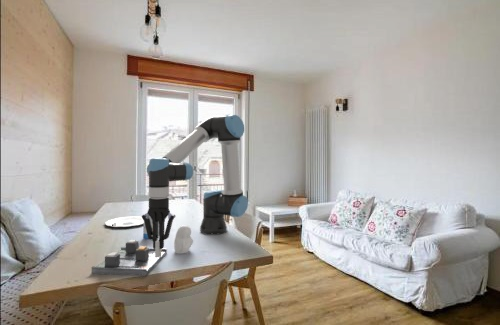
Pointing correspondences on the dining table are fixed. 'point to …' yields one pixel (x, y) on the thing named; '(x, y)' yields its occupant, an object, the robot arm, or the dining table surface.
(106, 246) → the dining table surface
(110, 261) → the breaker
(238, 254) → the dining table surface
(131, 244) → the block
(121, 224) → the plate
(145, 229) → the ink box
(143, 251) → the breaker
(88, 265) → the dining table surface
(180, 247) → the figurine
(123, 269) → the panel
